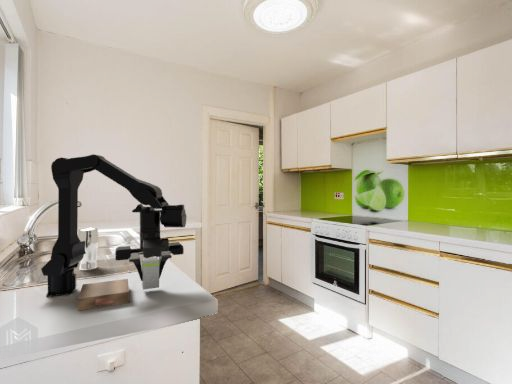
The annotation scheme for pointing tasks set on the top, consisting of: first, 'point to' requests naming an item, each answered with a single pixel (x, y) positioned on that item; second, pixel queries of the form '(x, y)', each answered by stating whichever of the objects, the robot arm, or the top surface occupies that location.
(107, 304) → the walnut riser
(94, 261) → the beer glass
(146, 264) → the metal column
